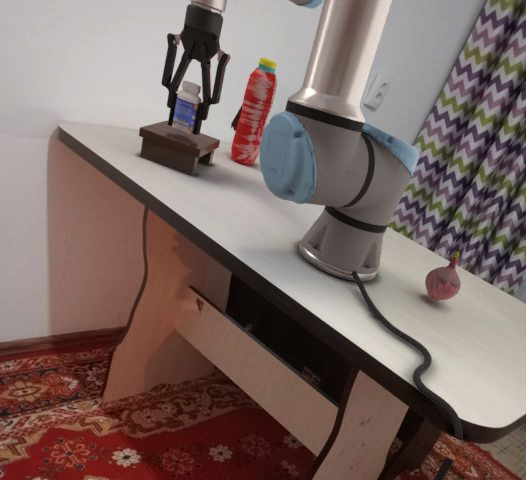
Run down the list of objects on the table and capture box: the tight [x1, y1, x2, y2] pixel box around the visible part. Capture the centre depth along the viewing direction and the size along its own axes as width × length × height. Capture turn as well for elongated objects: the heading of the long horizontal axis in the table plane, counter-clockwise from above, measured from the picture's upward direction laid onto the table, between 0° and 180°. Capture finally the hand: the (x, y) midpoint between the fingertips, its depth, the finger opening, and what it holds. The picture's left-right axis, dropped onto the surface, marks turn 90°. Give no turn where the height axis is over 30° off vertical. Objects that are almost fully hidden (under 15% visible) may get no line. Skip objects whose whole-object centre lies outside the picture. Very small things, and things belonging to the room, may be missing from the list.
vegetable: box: [424, 251, 462, 302], centre depth 82 cm, size 6×6×10 cm
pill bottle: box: [172, 80, 202, 134], centre depth 103 cm, size 5×5×10 cm
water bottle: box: [230, 57, 278, 166], centre depth 121 cm, size 12×8×25 cm, turn 39°
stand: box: [138, 120, 221, 176], centre depth 108 cm, size 16×14×6 cm
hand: (183, 129), depth 105 cm, fingers closed on pill bottle, 5 cm apart
